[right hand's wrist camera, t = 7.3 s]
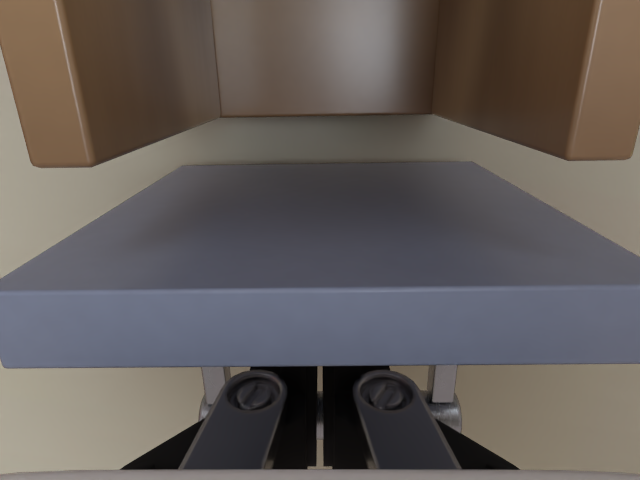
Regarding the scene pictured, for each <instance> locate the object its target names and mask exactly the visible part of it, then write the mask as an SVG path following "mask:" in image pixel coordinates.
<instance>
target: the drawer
mask: <svg viewBox="0 0 640 480" xmlns="http://www.w3.org/2000/svg"><path fill="white" fill-rule="evenodd" d="M0 45H1V49H2V53H3V57H4V61H5V65H6V68H7V72H8V76H9V80H10V84H11V88H12V92H13V95H14V99H15V103H16V107H17V111H18V115H19V119H20V122H21V126H22V130H23V134H24V138H25V142H26V146H27V149H28V153H29V157H30V161H31V163H32V164H33V166H36V167H39V168H81V167H93V166H96V165H99V164H101V163H104V162H106V161H109V160H112V159H114V158H117V157H119V156H122V155H124V154H127V153H130V152H132V151H135V150H137V149H140V148H142V147H145V146H148V145H150V144H153V143H155V142H158V141H160V140H163V139H166V138H168V137H171V136H173V135H176V134H179V133H181V132H184V131H186V130H189V129H191V128H194V127H197V126H199V125H202V124H204V123H207V122H209V121H212V120H215V119H217V118H232V117H295V116H358V115H421V114H434V115H436V116H439V117H442V118H445V119H448V120H451V121H454V122H457V123H460V124H462V125H465V126H468V127H471V128H474V129H477V130H480V131H483V132H486V133H489V134H492V135H494V136H497V137H500V138H503V139H506V140H509V141H512V142H515V143H518V144H521V145H524V146H526V147H529V148H532V149H535V150H538V151H541V152H544V153H547V154H550V155H553V156H556V157H558V158H561V159H564V160H567V161H595V160H626V159H629V158H631V156H632V154H633V150H634V146H635V142H636V138H637V134H638V130H639V126H640V0H0ZM0 359H1V362H2V365H3V366H4V368H127V367H201V369H202V376H203V383H204V390H205V395H204V397H203V399H202V402H201V405H200V410H199V421H201V420H202V419H204V418H206V416H207V414H208V412H209V410H210V408H211V407H212V405H213V403H214V401H215V399H216V397H217V395H218V394H219V392H220V390H221V388H222V387H223V385H224V384H225V383H226V382H227V381H228V380H229V379H231V374H230V367H261V366H395V365H429V372H428V383H427V390H428V391H420V392H421V394H422V395H423V397H424V399H425V401H426V403H427V405H428V407H429V408H430V410H431V412H432V414H433V416H434V418H436V419H438V420H439V421H441V422H443V423H444V424H446V425H448V426H449V427H451V428H453V429H454V430H456V431H458V432H459V433H461V430H462V415H461V408H460V404H459V401H458V398H457V396H456V394H455V393H454V391H455V383H456V374H457V366H458V365H529V364H640V257H639V256H637V255H635V254H633V253H632V252H630V251H628V250H626V249H625V248H623V247H621V246H619V245H618V244H616V243H614V242H612V241H611V240H609V239H607V238H605V237H604V236H602V235H600V234H598V233H597V232H595V231H593V230H591V229H590V228H588V227H586V226H584V225H583V224H581V223H579V222H577V221H576V220H574V219H572V218H570V217H569V216H567V215H565V214H563V213H562V212H560V211H558V210H556V209H555V208H553V207H551V206H549V205H548V204H546V203H544V202H542V201H541V200H539V199H537V198H535V197H534V196H532V195H530V194H528V193H527V192H525V191H523V190H521V189H520V188H518V187H516V186H514V185H513V184H511V183H509V182H507V181H506V180H504V179H502V178H500V177H499V176H497V175H495V174H493V173H492V172H490V171H488V170H486V169H485V168H483V167H481V166H479V165H477V164H476V163H474V162H407V163H337V164H267V165H197V166H181V167H179V168H177V169H176V170H174V171H173V172H171V173H169V174H168V175H166V176H165V177H163V178H161V179H160V180H158V181H157V182H155V183H153V184H152V185H150V186H149V187H147V188H145V189H144V190H142V191H141V192H139V193H137V194H136V195H134V196H132V197H131V198H129V199H128V200H126V201H124V202H123V203H121V204H120V205H118V206H116V207H115V208H113V209H112V210H110V211H108V212H107V213H105V214H104V215H102V216H100V217H99V218H97V219H96V220H94V221H92V222H91V223H89V224H88V225H86V226H84V227H83V228H81V229H80V230H78V231H76V232H75V233H73V234H72V235H70V236H68V237H67V238H65V239H64V240H62V241H60V242H59V243H57V244H56V245H54V246H52V247H51V248H49V249H47V250H46V251H44V252H43V253H41V254H39V255H38V256H36V257H35V258H33V259H31V260H30V261H28V262H27V263H25V264H23V265H22V266H20V267H19V268H17V269H15V270H14V271H12V272H11V273H9V274H7V275H6V276H4V277H3V278H1V279H0ZM199 421H198V422H199ZM317 440H323V391H317Z"/></svg>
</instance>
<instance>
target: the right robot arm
mask: <svg viewBox="0 0 640 480" xmlns="http://www.w3.org/2000/svg"><path fill="white" fill-rule="evenodd" d="M316 451H317V366H261V367H251V368H250V371H246V372H242V373H240V374H237V375H235V376H233V377H232V378H231V379H229V380H228V381H227V382H226V383H225V384H224V385H223V387H222V388H221V390H220V392H219V394H218V395H217V397H216V399H215V401H214V403H213V405H212V407H211V408H210V410H209V412H208V414H207V416H206V418H204V419H202V420H201V421H199V422H197V423H196V424H194V425H192V426H191V427H189V428H187V429H186V430H184V431H182V432H181V433H179V434H177V435H176V436H174V437H172V438H171V439H169V440H167V441H166V442H164V443H162V444H161V445H159V446H157V447H156V448H154V449H152V450H151V451H149V452H147V453H146V454H144V455H142V456H141V457H139V458H137V459H136V460H134V461H132V462H131V463H129V464H127V465H126V466H124V467H123V468H121V469H120V470H69V471H42V472H17V473H8V474H0V480H640V474H632V473H623V472H598V471H571V470H520V469H519V468H517V467H516V466H514V465H513V464H511V463H509V462H508V461H506V460H504V459H503V458H501V457H499V456H498V455H496V454H494V453H493V452H491V451H489V450H488V449H486V448H484V447H483V446H481V445H479V444H478V443H476V442H474V441H473V440H471V439H469V438H468V437H466V436H464V435H463V434H461V433H459V432H458V431H456V430H454V429H453V428H451V427H449V426H448V425H446V424H444V423H443V422H441V421H439V420H438V419H436V418H434V416H433V414H432V412H431V410H430V408H429V407H428V405H427V403H426V401H425V399H424V397H423V395H422V394H421V392H420V390H419V388H418V387H417V385H416V384H415V383H414V382H413V381H412V380H411V379H409V378H408V377H407V376H405V375H403V374H400V373H398V372H394V371H390V368H389V366H323V456H324V466H332V469H307V467H308V466H316Z"/></svg>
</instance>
